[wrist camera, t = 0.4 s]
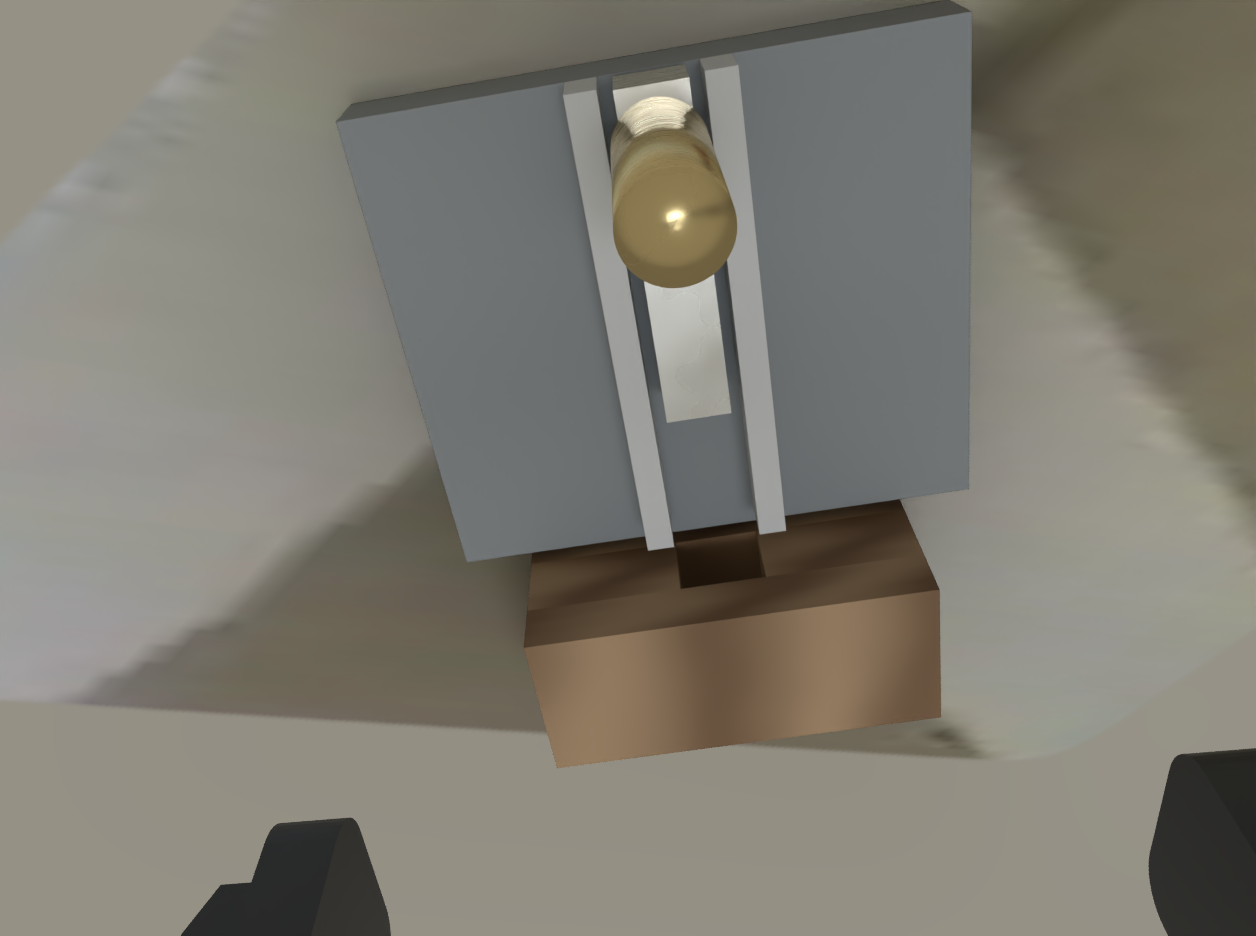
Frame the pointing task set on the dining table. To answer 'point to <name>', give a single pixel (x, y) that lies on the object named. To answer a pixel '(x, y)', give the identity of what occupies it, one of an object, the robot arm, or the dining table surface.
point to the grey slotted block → (745, 285)
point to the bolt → (673, 232)
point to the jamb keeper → (734, 635)
